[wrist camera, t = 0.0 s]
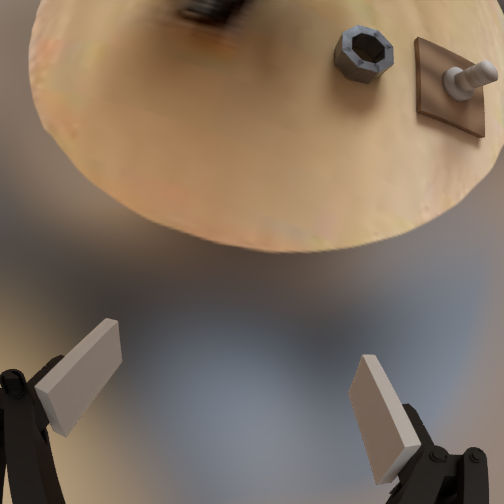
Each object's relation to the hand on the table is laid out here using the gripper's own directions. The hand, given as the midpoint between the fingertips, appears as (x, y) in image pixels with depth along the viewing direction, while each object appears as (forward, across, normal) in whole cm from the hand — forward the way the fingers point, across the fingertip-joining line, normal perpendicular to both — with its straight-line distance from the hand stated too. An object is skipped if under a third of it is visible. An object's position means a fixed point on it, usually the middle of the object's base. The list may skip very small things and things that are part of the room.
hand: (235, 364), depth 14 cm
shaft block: (+28, +29, +31) cm, 51 cm away
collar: (+28, +12, +30) cm, 43 cm away
